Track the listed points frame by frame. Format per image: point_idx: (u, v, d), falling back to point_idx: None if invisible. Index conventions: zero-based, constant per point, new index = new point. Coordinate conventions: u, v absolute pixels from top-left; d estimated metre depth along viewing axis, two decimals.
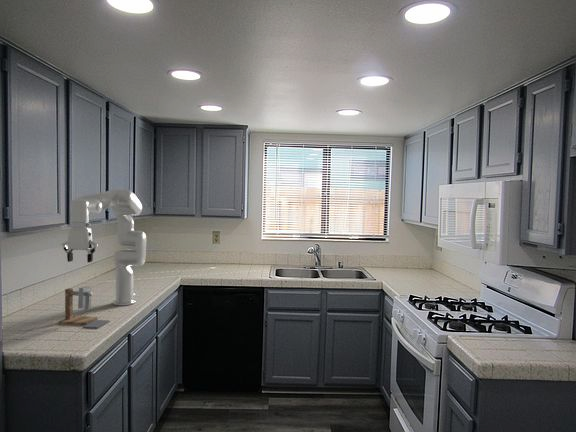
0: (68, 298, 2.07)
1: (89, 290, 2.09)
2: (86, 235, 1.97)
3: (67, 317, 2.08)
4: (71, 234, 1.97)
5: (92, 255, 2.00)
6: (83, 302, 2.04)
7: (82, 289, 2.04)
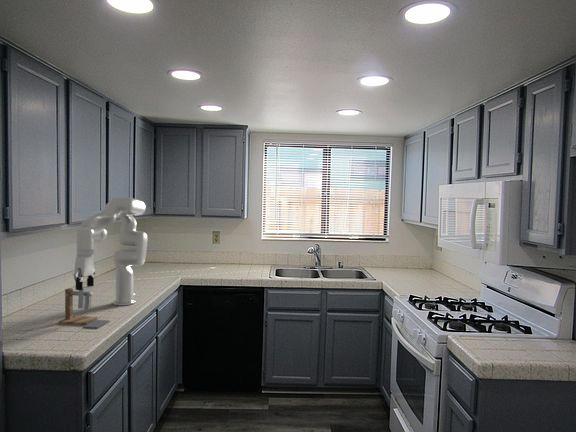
0: (68, 298, 2.07)
1: (89, 290, 2.09)
2: (93, 261, 2.11)
3: (67, 317, 2.08)
4: (86, 262, 2.04)
5: None
6: (83, 302, 2.04)
7: None
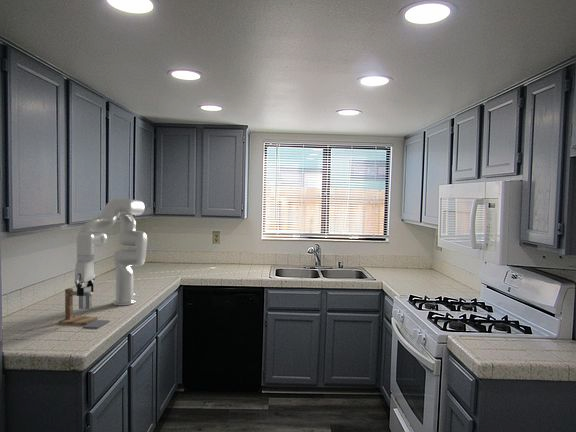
0: (68, 298, 2.07)
1: (89, 290, 2.09)
2: (93, 265, 2.11)
3: (67, 317, 2.08)
4: (86, 267, 2.04)
5: None
6: (83, 302, 2.05)
7: None
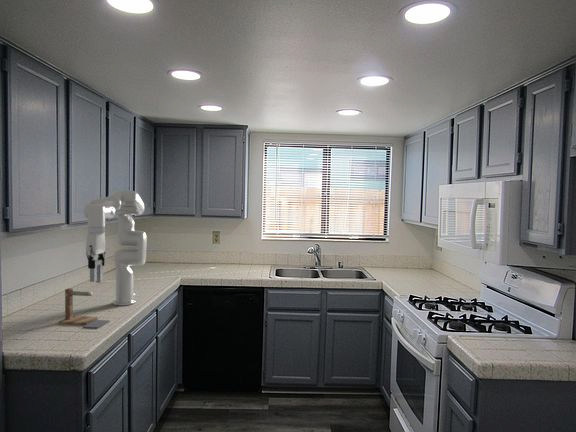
0: (68, 298, 2.07)
1: (100, 263, 2.04)
2: (104, 238, 2.06)
3: (67, 317, 2.08)
4: (98, 239, 1.99)
5: None
6: (95, 275, 2.00)
7: None
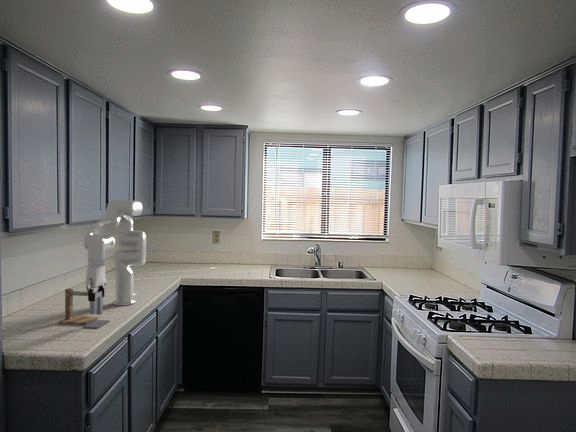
0: (68, 298, 2.07)
1: (100, 295, 2.05)
2: (104, 270, 2.07)
3: (67, 317, 2.08)
4: (98, 272, 2.00)
5: None
6: (95, 308, 2.00)
7: None
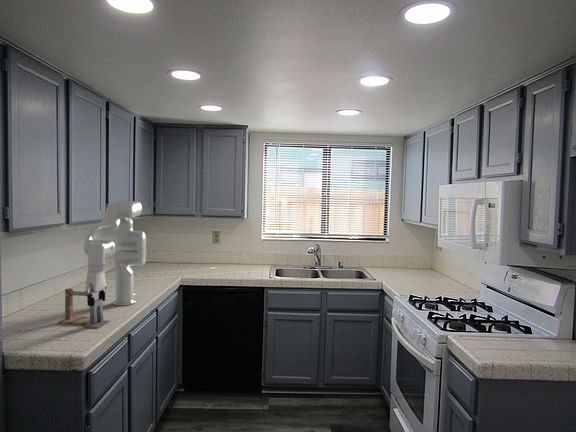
0: (68, 298, 2.07)
1: (100, 303, 2.05)
2: (104, 275, 2.07)
3: (67, 317, 2.08)
4: (98, 277, 2.00)
5: None
6: (95, 317, 2.01)
7: None
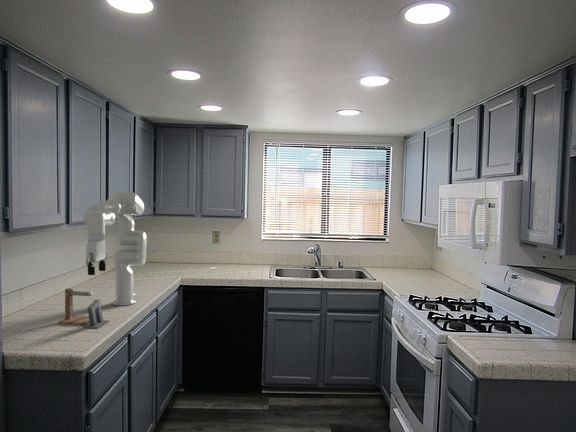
0: (68, 298, 2.07)
1: (98, 305, 2.03)
2: None
3: (67, 317, 2.08)
4: (98, 246, 2.00)
5: None
6: (94, 319, 2.00)
7: (91, 308, 1.98)
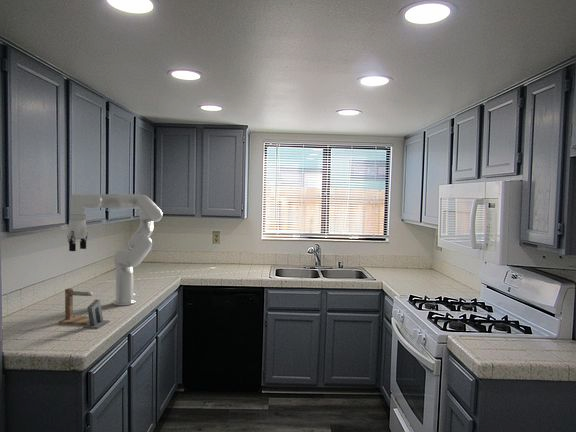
0: (68, 298, 2.07)
1: (98, 305, 2.03)
2: (85, 225, 2.27)
3: (67, 317, 2.08)
4: (78, 225, 2.20)
5: None
6: (94, 319, 2.00)
7: (91, 308, 1.98)
